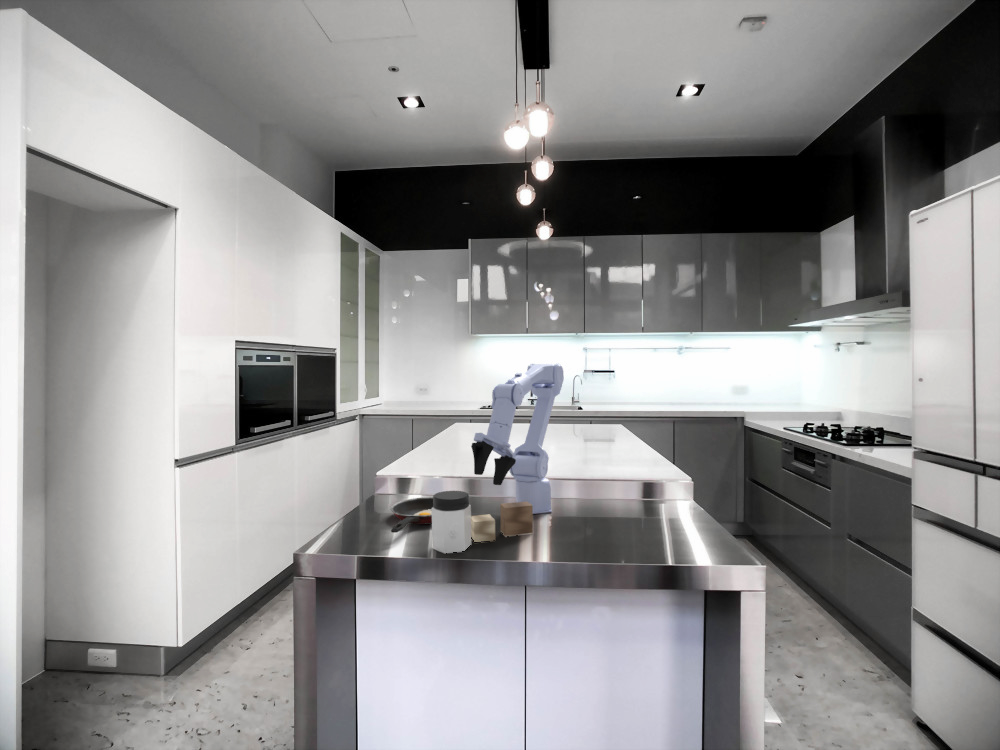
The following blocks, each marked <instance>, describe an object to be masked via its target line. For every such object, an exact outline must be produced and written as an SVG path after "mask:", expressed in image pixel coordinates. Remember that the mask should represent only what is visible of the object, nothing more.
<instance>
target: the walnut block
mask: <svg viewBox="0 0 1000 750" xmlns="http://www.w3.org/2000/svg"><path fill="white" fill-rule="evenodd" d="M499 509H500V510H499V511H500V532H502V533H503V534H502V533H501V534H502V535H503V536H504V537H505V538H507V536H509V537H515V536H516V535H518V536H524V535H533V534H534V530H533V529H534V528H533V527H534V525H533V524H534V522H533V521H534V519H533V516H534V514H533V507H532V505H531V504H530V503H529V502H527V501H526V502H516V501H515V502H508V503H507V502H505V503H500V508H499Z"/></svg>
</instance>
